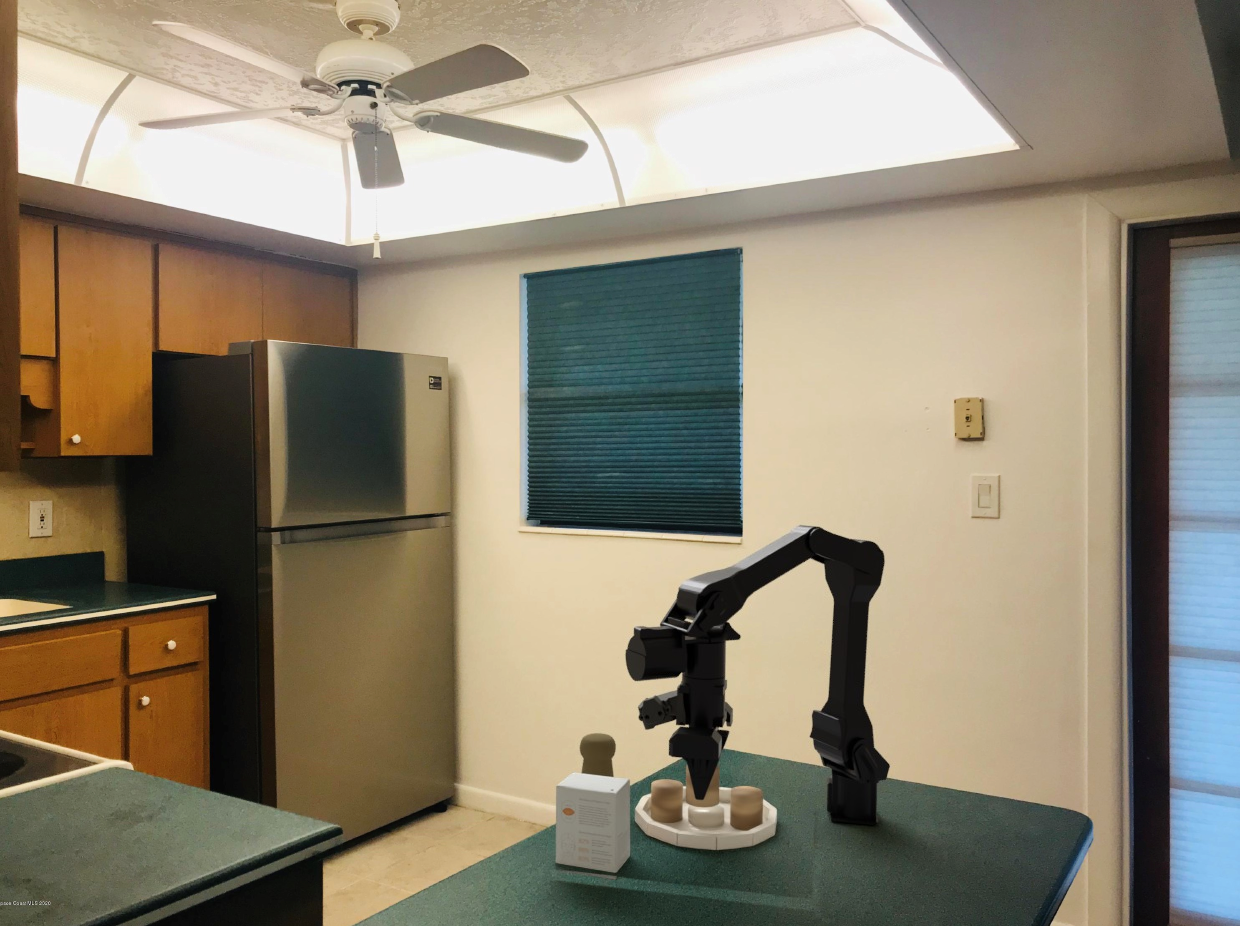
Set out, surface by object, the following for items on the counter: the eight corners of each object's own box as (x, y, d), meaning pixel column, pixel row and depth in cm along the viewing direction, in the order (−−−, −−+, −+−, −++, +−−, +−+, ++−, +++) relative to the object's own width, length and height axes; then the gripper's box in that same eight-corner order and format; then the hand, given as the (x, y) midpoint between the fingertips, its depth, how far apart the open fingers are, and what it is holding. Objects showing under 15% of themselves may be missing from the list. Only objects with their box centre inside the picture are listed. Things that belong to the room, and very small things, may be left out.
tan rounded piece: (761, 832, 122) (762, 798, 123) (728, 829, 123) (729, 795, 123) (763, 820, 127) (764, 787, 127) (731, 817, 128) (732, 784, 128)
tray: (779, 810, 133) (779, 792, 133) (771, 863, 115) (772, 842, 115) (650, 798, 138) (651, 780, 138) (623, 847, 119) (624, 827, 119)
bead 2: (688, 794, 124) (688, 760, 124) (720, 797, 123) (721, 763, 123) (683, 805, 119) (683, 770, 119) (717, 808, 118) (717, 773, 118)
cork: (612, 821, 128) (614, 742, 128) (571, 817, 129) (572, 739, 129) (621, 806, 134) (622, 730, 134) (581, 802, 135) (582, 727, 135)
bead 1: (684, 812, 129) (685, 780, 129) (679, 824, 125) (680, 791, 125) (653, 809, 130) (654, 777, 130) (648, 821, 126) (648, 788, 126)
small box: (630, 862, 115) (632, 778, 115) (615, 881, 109) (617, 792, 109) (571, 853, 117) (572, 770, 117) (553, 870, 112) (555, 784, 112)
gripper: (656, 657, 132) (654, 766, 132) (629, 686, 114) (627, 812, 114) (733, 662, 130) (732, 773, 129) (719, 692, 111) (717, 821, 111)
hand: (702, 793), depth 121 cm, fingers closed on bead 2, 4 cm apart
